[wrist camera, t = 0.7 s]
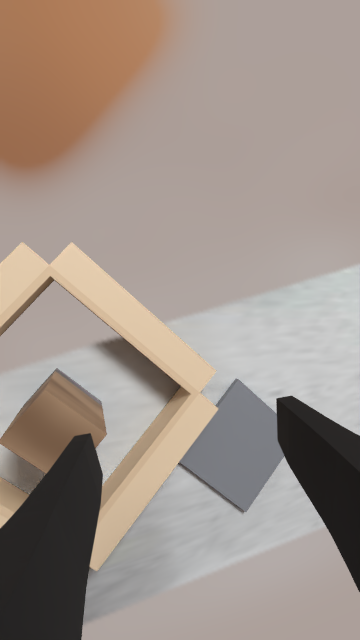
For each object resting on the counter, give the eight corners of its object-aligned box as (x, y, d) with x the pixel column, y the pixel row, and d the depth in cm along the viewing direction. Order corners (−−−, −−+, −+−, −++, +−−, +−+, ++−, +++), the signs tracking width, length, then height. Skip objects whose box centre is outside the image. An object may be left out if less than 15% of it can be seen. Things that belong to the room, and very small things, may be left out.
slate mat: (243, 509, 32) (246, 512, 32) (176, 458, 30) (177, 460, 30) (296, 432, 34) (299, 433, 34) (236, 378, 32) (238, 379, 31)
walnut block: (71, 437, 27) (64, 485, 19) (24, 404, 26) (-3, 442, 18) (101, 401, 28) (106, 434, 20) (56, 367, 27) (44, 389, 19)
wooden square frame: (77, 569, 27) (76, 599, 25) (-157, 434, 22) (-193, 452, 19) (221, 380, 31) (235, 387, 28) (50, 229, 26) (45, 218, 23)
